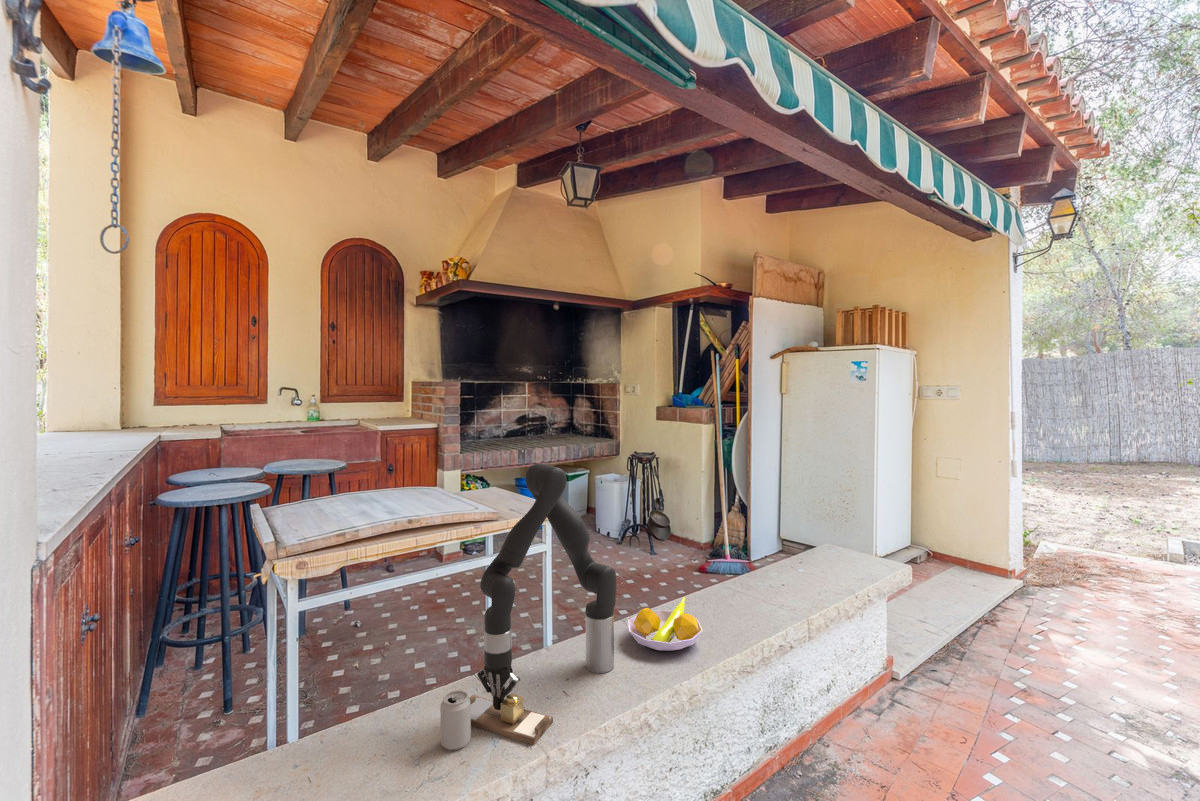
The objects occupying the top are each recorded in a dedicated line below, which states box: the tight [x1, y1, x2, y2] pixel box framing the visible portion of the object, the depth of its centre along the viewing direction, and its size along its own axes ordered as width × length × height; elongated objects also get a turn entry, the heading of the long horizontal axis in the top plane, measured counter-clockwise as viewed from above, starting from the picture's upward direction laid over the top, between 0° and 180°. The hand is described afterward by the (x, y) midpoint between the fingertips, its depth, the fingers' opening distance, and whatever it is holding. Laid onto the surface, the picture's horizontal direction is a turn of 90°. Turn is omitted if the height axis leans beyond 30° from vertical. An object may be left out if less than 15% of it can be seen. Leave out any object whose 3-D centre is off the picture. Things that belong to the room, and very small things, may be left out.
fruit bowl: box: [627, 596, 703, 652], centre depth 192 cm, size 28×27×11 cm
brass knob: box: [501, 693, 525, 724], centre depth 144 cm, size 5×4×6 cm
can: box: [439, 690, 472, 751], centre depth 137 cm, size 8×8×12 cm
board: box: [469, 694, 554, 746], centre depth 145 cm, size 10×25×3 cm, turn 67°
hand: (498, 708), depth 146 cm, fingers closed
